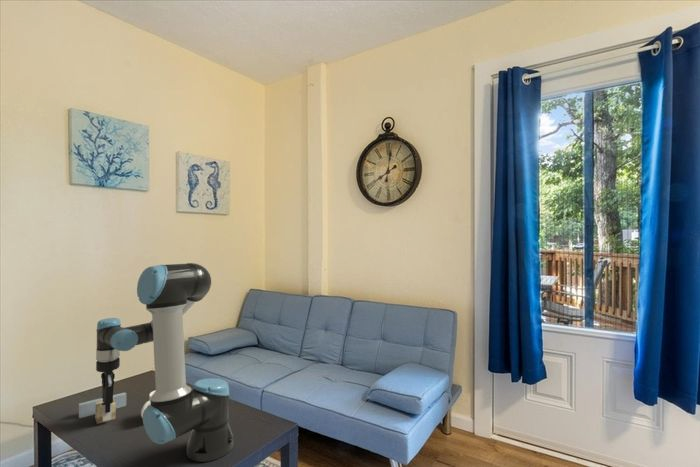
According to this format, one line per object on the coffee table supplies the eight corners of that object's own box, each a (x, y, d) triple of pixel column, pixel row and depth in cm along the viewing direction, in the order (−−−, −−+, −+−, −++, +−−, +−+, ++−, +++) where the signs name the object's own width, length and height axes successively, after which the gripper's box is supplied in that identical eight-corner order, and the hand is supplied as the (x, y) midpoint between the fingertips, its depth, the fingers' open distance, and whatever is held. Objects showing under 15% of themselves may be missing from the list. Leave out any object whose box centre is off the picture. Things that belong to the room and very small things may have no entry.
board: (126, 405, 150) (126, 394, 150) (79, 418, 139) (79, 405, 139) (125, 403, 152) (125, 392, 152) (78, 415, 141) (78, 403, 141)
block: (115, 418, 140) (115, 403, 140) (97, 423, 136) (97, 408, 136) (113, 412, 144) (113, 398, 144) (95, 417, 140) (95, 402, 140)
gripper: (122, 361, 134) (121, 423, 134) (116, 352, 143) (115, 409, 143) (98, 366, 129) (97, 430, 129) (94, 356, 138) (93, 416, 138)
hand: (107, 419), depth 136 cm, fingers closed
